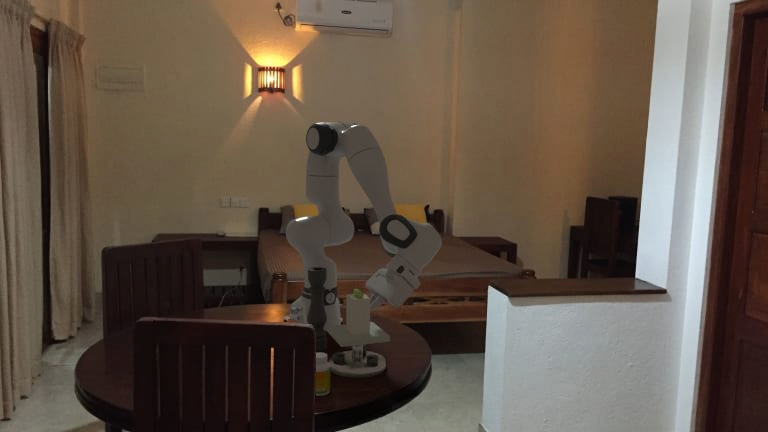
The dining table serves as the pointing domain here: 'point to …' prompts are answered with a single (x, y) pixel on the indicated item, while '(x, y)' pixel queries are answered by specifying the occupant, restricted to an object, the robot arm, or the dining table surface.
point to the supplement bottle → (322, 374)
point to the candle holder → (318, 305)
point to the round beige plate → (357, 363)
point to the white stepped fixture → (357, 323)
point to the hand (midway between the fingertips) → (368, 308)
